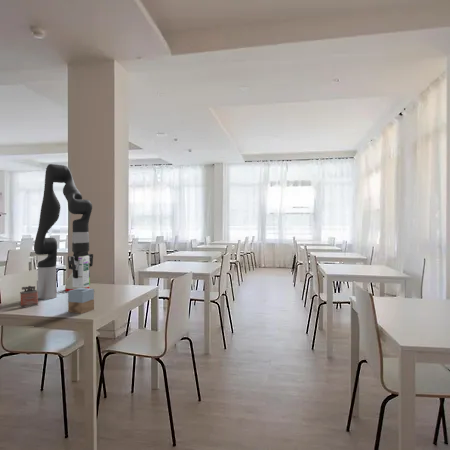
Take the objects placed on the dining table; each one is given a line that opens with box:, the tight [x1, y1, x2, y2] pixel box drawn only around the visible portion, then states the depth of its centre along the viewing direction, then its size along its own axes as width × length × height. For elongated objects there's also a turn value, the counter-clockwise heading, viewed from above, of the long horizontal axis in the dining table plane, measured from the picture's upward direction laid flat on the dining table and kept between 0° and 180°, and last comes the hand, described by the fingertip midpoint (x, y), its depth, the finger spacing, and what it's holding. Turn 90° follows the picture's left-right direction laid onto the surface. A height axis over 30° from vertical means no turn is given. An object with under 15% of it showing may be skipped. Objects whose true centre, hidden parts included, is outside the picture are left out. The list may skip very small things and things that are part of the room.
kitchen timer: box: [64, 272, 90, 292], centre depth 227 cm, size 14×14×15 cm
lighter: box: [19, 285, 39, 308], centre depth 183 cm, size 8×3×10 cm, turn 134°
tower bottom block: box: [67, 298, 95, 314], centre depth 173 cm, size 8×8×5 cm
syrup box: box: [71, 256, 91, 288], centre depth 172 cm, size 6×6×14 cm
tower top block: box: [67, 288, 95, 303], centre depth 172 cm, size 8×8×5 cm
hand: (81, 276), depth 173 cm, fingers closed on syrup box, 6 cm apart
